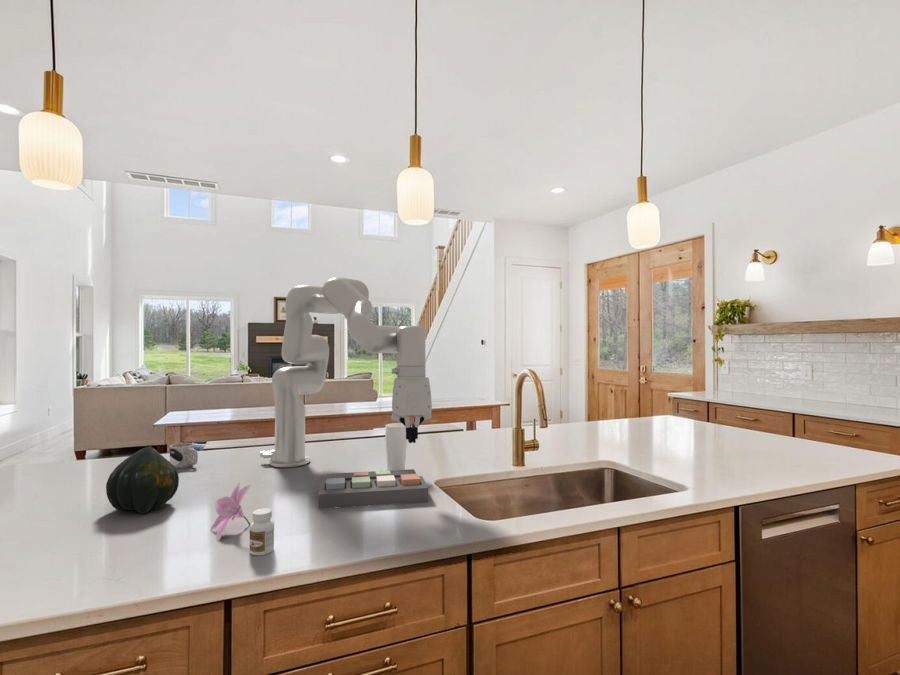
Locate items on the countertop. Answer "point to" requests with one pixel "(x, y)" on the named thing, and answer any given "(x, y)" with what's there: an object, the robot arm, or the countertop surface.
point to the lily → (229, 509)
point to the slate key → (335, 483)
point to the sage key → (360, 482)
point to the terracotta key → (409, 479)
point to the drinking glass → (395, 446)
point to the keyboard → (372, 491)
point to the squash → (142, 482)
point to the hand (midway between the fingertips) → (411, 441)
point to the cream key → (385, 481)
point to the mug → (183, 455)
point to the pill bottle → (261, 532)
